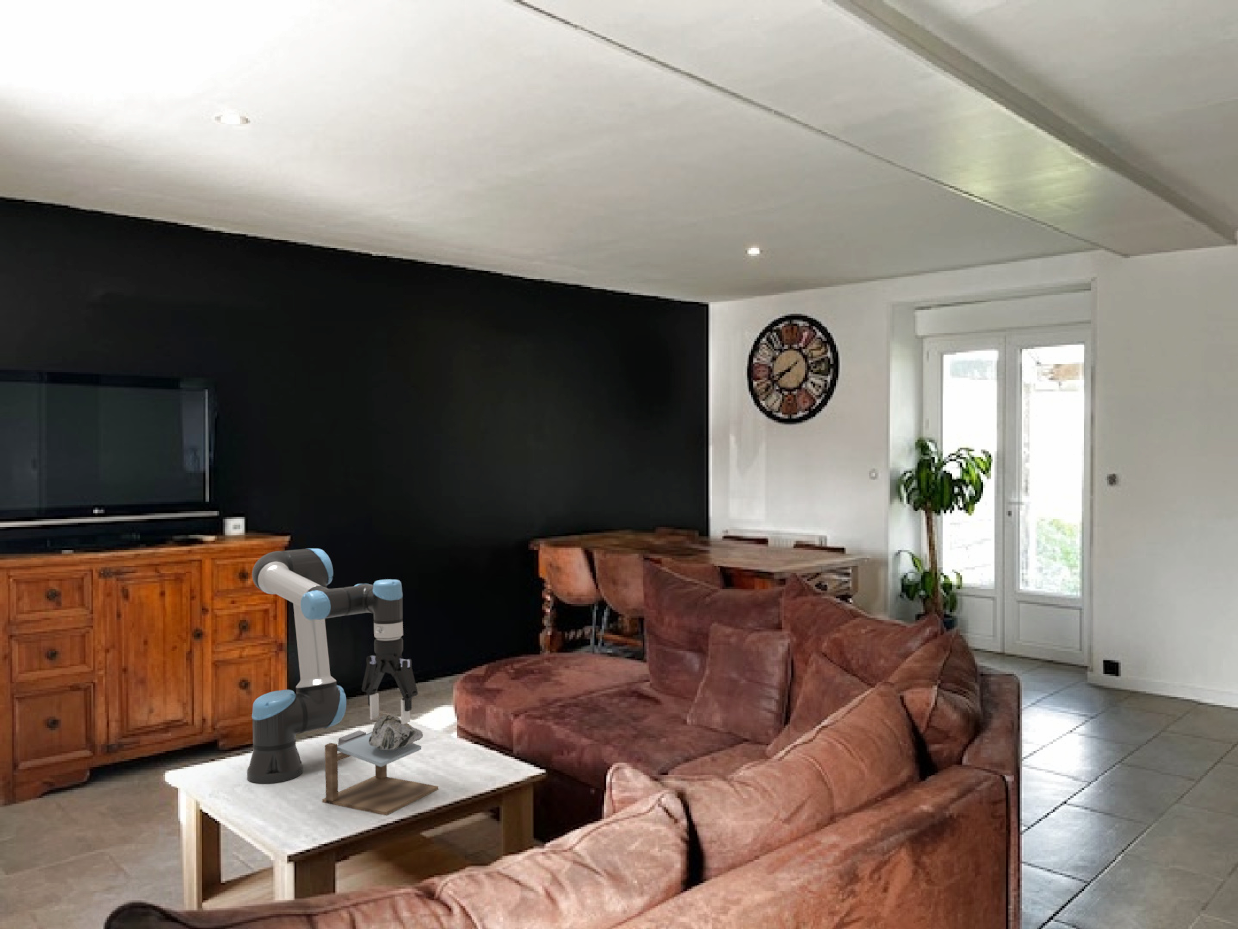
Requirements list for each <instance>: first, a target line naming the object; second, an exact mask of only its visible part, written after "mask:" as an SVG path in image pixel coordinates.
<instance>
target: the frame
mask: <svg viewBox="0 0 1238 929" xmlns="http://www.w3.org/2000/svg"><path fill="white" fill-rule="evenodd" d="M337 745H338V743H331V742H329V743H326V744H325V745H324V758H325V759H324V763H325V764H324V765H325V766H324V768H325V770H324V771H325V774H324V775H325V798H322V800H321V802H322V803H324V804H330V805H333V806H339V807H343V808H349V809H353V810H358V811H363V812H369V813H373V814H377V815H383V816H388V815H390V814H393V813H394V812H396V811H398V810H400V809H402V808H405V807H406V806H408V805H410V804H412V803H414V802H416V801H418V800H420V799H422V798H424V797H426V796H428V795H429V794H431V793H434V792H436V791H437V790H439V786H438V785H433V784H428V783H423V782H417V781H411V780H406V779H400V778H396V777H395V778H394V777H389V776H388V773H387V772H388V768H387V767H388V764H387V765H384V766H382V767H380V766H377V765H374V769H375V770H374V771H375V775H373V776H372V777H369V778H367V779H365V780H363V781H360V782H358V783H356V784H354V785H352V786H350V787H347V788H344V789H342V790H340V791H339V776H338V775H339V772H338V771H339V769H338V768H339V767H338V765H339V763H338V762H339V761H341V760H344V759H347V758H349V757H351V756H350V755H347V754H345V753H342V752H338V751H337Z"/></svg>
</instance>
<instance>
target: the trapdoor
mask: <svg viewBox="0 0 1238 929" xmlns="http://www.w3.org/2000/svg"><path fill="white" fill-rule="evenodd" d="M372 732H373V731H371V732H367V733H366V732H365V731H364V730H363V731H362V730H360V729H359V730H357V731H354V732H351V733H348V734H346V735H343V736H341V737H339V738H338V740H337V752H338V753H341V752H342V753H345V754H347V755H350V756H349V757H353V758H356V759H358V760H360V761H364V762H366V763H369V764H372V765H374V766H375V765H377V766H380V767H382V766H384V765H387V766H388V765H389V764H391V763H393V762H396V761H397V760H400V759H402V758H405V757H408V756H409V755H412V754H414V753H416V752H419V751H421V750H422V745H420V744H417V743H415V742H413V743H411V744H407V745H406V746H405V747H401V748H396V749H394V750H393V749H391V750H383V749H379V748H377V747H374V746H371V745H370V744H369V738H370V736H371V735H372Z"/></svg>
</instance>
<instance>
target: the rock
mask: <svg viewBox="0 0 1238 929" xmlns="http://www.w3.org/2000/svg"><path fill="white" fill-rule="evenodd" d="M373 725H374V726H373V728H372V731H371V732H372V735H371V736H370V738H369V744H370V745H371V746H374V747H377V748H379V749H383V750H391V749H393V750H394V749H396V748H401V747H405V746H406V745H407V744H411V743H415V742H417V741H420V740H421V739H422V738H423V735H424V734H423V731H422V730H421V729H418V728H416V727H413V726H412V725H410V724H409V722H408V723H405V724H401V718H399V717H397V716H395V715H392V714H385V715H381V716H379V717H378V718H377V720H376V721H375V723H374V724H373Z"/></svg>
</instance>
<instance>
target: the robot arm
mask: <svg viewBox="0 0 1238 929" xmlns="http://www.w3.org/2000/svg"><path fill="white" fill-rule="evenodd" d="M333 577H334V569H333V564H332V561H331V558H330V557H329V554H327V553H326V552H325V550H323V549H321V548H309V547H308V548H301V549H289V550H276V551H272V552H267V554H264V555H262V556H261V557H260V558H259V559H257V561H256V562H255V564H254V566H253V567H252V571H251V578H252V582H253V584H254V585H255V587H256V588H258V589H259V590H260V591H261V592H264V593H266V594H269V595H277V596H279V597H280V598H283V599H285V600H287V601H289V602H290V603H292V604H293V606H292V607H293V612H294V614H293V616H294V625H295V626H294V627H295V634H296V644H297V655H298V667H299V676H300V680H299V682H298V683H297V685H296V686H295V690H296V691H294V690H292V689H281V690H274V691H270V692H267V693H264V694H262V695H260V696H258V697H257V698H256V699H255V700H254V701H253V704H252V711H251V712H252V714H251V718H252V747H253V750H252V754H251V758H250V762H249V766H248V767H247V769H246V770H247V771H246V779H247V780H248V781H249V782H251V783H255V784H271V783H272V784H275V783H281V782H286V781H290V780H293V779H296V778H297V777H299V776H301V775H302V774H303V770H304V768H303V761H302V760H301V757H300V756H301V755H300V754H299V751H298V748H297V744H296V743H297V742H296V741H297V737H296V736H297V735H298V734H304V733H308V732H312V731H317V730H322V729H327V728H330V727H333V726H336V725H338V724H339V723H340V722H341V721H342V720H343V719H344V716H345V714H346V710H347V697H346V696H347V695H346V693H345V690H344V688H343V687H342V686H341V685H338V684H337V680H336V679H335V678H334V677H333V676H331V671H330V667H331V666H330V657H329V648H328V639H327V638H328V637H327V629H326V619H330V618H336V617H342V616H351V615H358V614H365V613H368V614H369V613H370V614H373V634H374V638H375V639H374V642H373V646H374V648H373V649H374V654H373V655H369V656H367V657H366V659H365V660H366V667H365V671H364V677H363V681H362V687H361V691H362V692H364V693H366V694H367V702H368V703H367V704H368V707H369V720H375V719H379V718H380V701H379V700H380V693H378V689H379V686H380V684H381V682H382V680H383V678H384V676H385V674H386V673H387V674H390V675H391V676H392V677H393V678H394V681H395V682H396V684H397V687H398V689H399V691H400V693H401V696H402V698H401V699H400V719H401V724H405V723H408V724H409V723H411V711H412V709H413V707H412V706H413V705H412V704H413V703H412V702H413V699H412V698H414V697H417V696H418V695H419V692H418V689H417V684H416V679H415V675H414V670H413V667H412V666H413V665H412V664H413V660H412V659H411V658H408V659H404V658H403V656H402V655H403V654H402V653H403V651H404V640H403V637H402V636H404V628H403V627H404V626H403V625H404V624H403V623H404V622H403V595H404V594H403V587H402V581H400V580H399V579H391V578H390V579H388V578H387V579H386V578H385V579H379V580H375V581H374V583H373V584H369V583H357V584H355V585H354V586H345V587H338V588H328V587H327V586H328V585H330V584H331V583H332V581H333ZM295 692H296V693H295Z"/></svg>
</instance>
